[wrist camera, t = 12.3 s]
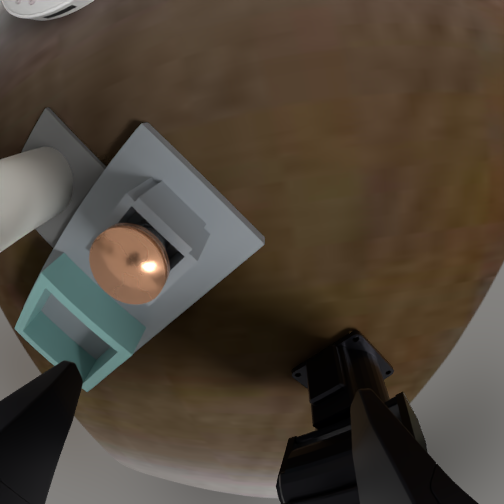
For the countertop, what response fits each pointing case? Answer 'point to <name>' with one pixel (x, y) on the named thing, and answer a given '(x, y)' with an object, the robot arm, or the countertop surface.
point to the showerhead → (43, 8)
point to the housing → (179, 251)
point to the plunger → (130, 262)
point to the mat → (79, 159)
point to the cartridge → (32, 191)
